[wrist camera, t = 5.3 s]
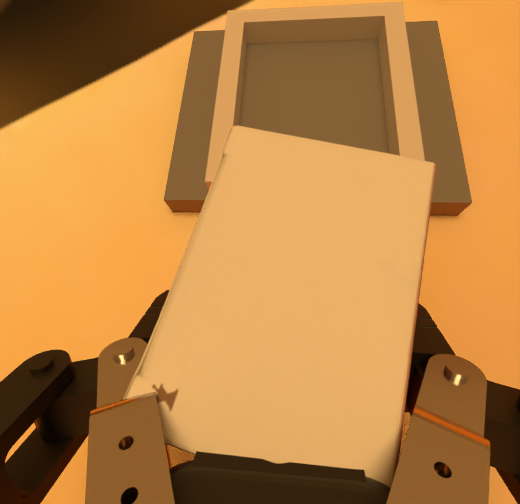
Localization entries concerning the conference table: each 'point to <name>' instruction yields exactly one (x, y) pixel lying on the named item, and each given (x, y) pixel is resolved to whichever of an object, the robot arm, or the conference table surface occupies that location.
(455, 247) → the conference table surface
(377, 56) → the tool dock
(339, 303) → the small box
